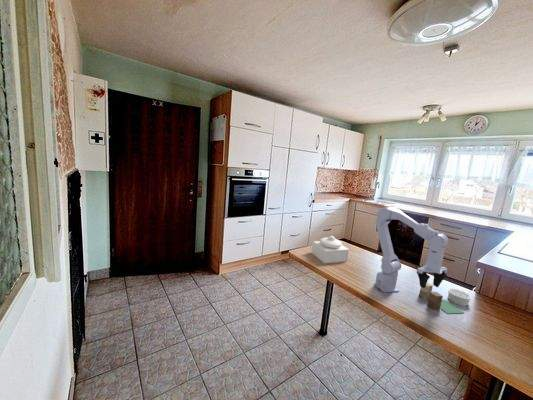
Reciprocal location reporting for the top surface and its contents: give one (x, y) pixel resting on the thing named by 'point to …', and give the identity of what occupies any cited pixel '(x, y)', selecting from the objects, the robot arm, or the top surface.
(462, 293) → the ramekin
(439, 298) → the walnut block
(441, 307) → the mat
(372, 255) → the top surface
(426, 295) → the maple block
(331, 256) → the white lidded box
